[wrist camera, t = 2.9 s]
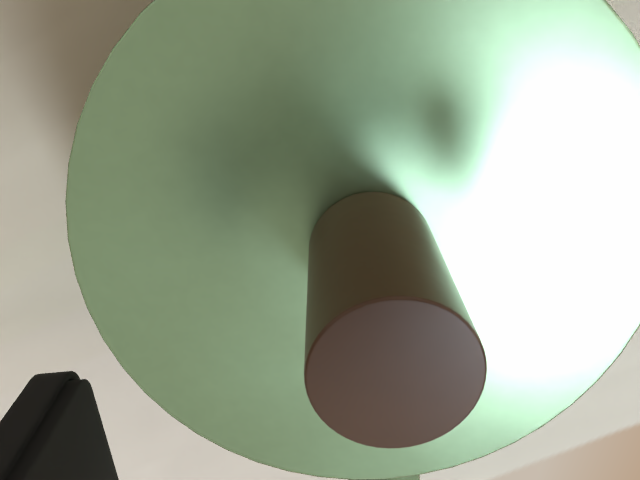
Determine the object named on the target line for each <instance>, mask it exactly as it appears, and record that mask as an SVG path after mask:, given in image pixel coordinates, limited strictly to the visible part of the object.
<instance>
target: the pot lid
mask: <svg viewBox="0 0 640 480" xmlns="http://www.w3.org/2000/svg"><path fill="white" fill-rule="evenodd" d="M66 216H67V231H68V242H69V246H70V251H71V256H72V261H73V266H74V270H75V275H76V278H77V281H78V284H79V286H80V289H81V292H82V295H83V298H84V300H85V303H86V306H87V309H88V311H89V313H90V315H91V317H92V318H93V320H94V322H95V324H96V326H97V328H98V330H99V332H100V334H101V336H102V338H103V340H104V341H105V343H106V344H107V346H108V347H109V349H110V350H111V351H112V353H113V354H114V356H115V357H116V359H117V360H118V362H119V363H120V364H121V366H122V367H123V369H124V370H125V371H126V372H127V373H128V374H129V375H130V376H131V378H132V379H133V380H134V381H135V382H136V383H137V384H138V385H139V387H140V388H141V389H142V390H143V391H144V392H145V393H146V394H147V395H148V396H149V397H150V398H151V399H153V400H154V401H155V402H156V403H157V404H158V405H159V406H161V407H162V408H163V409H164V410H165V411H166V412H167V413H168V414H170V415H171V416H172V417H174V418H175V419H177V420H178V421H179V422H181V423H182V424H184V425H185V426H187V427H188V428H189V429H191V430H192V431H194V432H195V433H197V434H198V435H200V436H202V437H204V438H206V439H208V440H209V441H211V442H213V443H215V444H217V445H219V446H220V447H222V448H224V449H226V450H228V451H231V452H233V453H236V454H238V455H241V456H243V457H245V458H248V459H250V460H253V461H255V462H258V463H262V464H265V465H268V466H272V467H275V468H279V469H282V470H286V471H290V472H295V473H301V474H306V475H312V476H317V477H326V478H339V479H352V480H356V479H389V478H397V477H405V476H413V475H420V474H425V473H429V472H433V471H438V470H442V469H447V468H451V467H454V466H457V465H460V464H463V463H466V462H469V461H472V460H475V459H478V458H481V457H484V456H486V455H488V454H490V453H493V452H495V451H497V450H499V449H501V448H504V447H506V446H508V445H510V444H513V443H515V442H516V441H518V440H520V439H521V438H523V437H525V436H527V435H528V434H530V433H532V432H533V431H535V430H537V429H539V428H540V427H542V426H544V425H545V424H546V423H548V422H549V421H550V420H552V419H553V418H555V417H556V416H557V415H559V414H560V413H561V412H563V411H564V410H565V409H567V408H568V407H569V406H571V405H572V404H573V403H574V402H575V401H576V400H577V399H578V398H580V397H581V396H582V395H583V394H584V393H585V392H586V391H587V390H588V389H589V388H590V387H592V386H593V385H594V384H595V383H596V382H597V381H598V380H599V379H600V377H601V376H602V375H603V374H604V373H605V372H606V370H607V369H608V368H609V367H610V366H611V365H612V364H613V362H614V361H615V360H616V359H617V358H618V357H619V355H620V354H621V353H622V351H623V350H624V348H625V347H626V345H627V344H628V342H629V341H630V339H631V338H632V336H633V335H634V333H635V332H636V330H637V329H638V328H639V326H640V46H639V44H638V42H637V40H636V39H635V37H634V35H633V34H632V32H631V31H630V30H629V28H628V27H627V26H626V25H625V23H624V22H623V21H622V20H621V19H620V17H619V16H618V15H617V14H616V12H615V11H614V10H613V9H612V7H611V6H610V5H609V4H608V3H607V1H606V0H154V1H153V2H152V3H151V4H150V5H148V6H147V7H146V8H145V9H144V10H143V11H142V12H141V13H140V14H139V16H138V17H137V18H136V19H135V21H134V22H133V23H132V25H131V26H130V27H129V28H128V30H127V31H126V32H125V34H124V35H123V36H122V38H121V39H120V40H119V41H118V43H117V44H116V45H115V47H114V48H113V49H112V51H111V53H110V55H109V56H108V58H107V60H106V62H105V64H104V65H103V67H102V69H101V71H100V72H99V74H98V76H97V78H96V79H95V81H94V83H93V85H92V87H91V90H90V92H89V95H88V97H87V100H86V103H85V105H84V108H83V110H82V113H81V116H80V118H79V121H78V123H77V127H76V132H75V136H74V141H73V145H72V150H71V154H70V159H69V163H68V176H67V189H66Z"/></svg>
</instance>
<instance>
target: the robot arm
mask: <svg viewBox="0 0 640 480" xmlns="http://www.w3.org/2000/svg"><path fill="white" fill-rule="evenodd" d="M0 480H119V479H118V476H117V472H116V469H115V466H114V462H113V459H112V455H111V452H110V448H109V445H108V442H107V438H106V435H105V431H104V428H103V425H102V421H101V418H100V414H99V411H98V407H97V404H96V401H95V397H94V394H93V390H92V387H91V385H90V383H89V381H88V380H86V379H82V380H80V378H79V376H78V375H77V374H76V373H75V372H73V371H68V372H56V373H45V374H37V375H35V376H34V377H32V378H31V380H30V381H29V382H28V384H27V385H26V387H25V388H24V389H23V391H22V392H21V394H20V395H19V396H18V398H17V399H16V401H15V402H14V403H13V405H12V406H11V408H10V409H9V410H8V412H7V413H6V414H5V416H4V417H3V419H2V420H1V421H0Z"/></svg>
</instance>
